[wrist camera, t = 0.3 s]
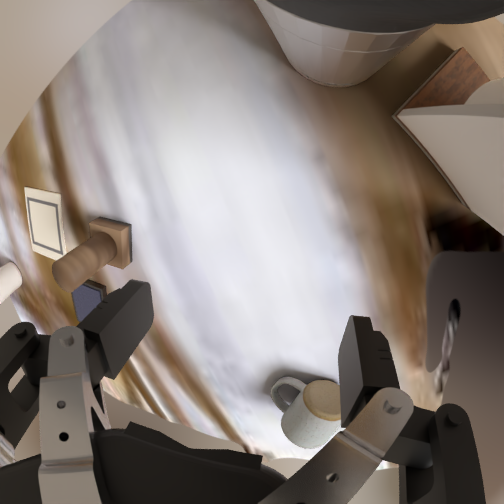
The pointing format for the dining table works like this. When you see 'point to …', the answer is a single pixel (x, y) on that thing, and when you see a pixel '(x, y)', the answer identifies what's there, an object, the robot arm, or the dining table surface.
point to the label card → (45, 222)
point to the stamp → (95, 253)
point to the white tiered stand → (462, 132)
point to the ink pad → (87, 298)
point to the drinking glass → (9, 280)
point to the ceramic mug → (309, 411)
